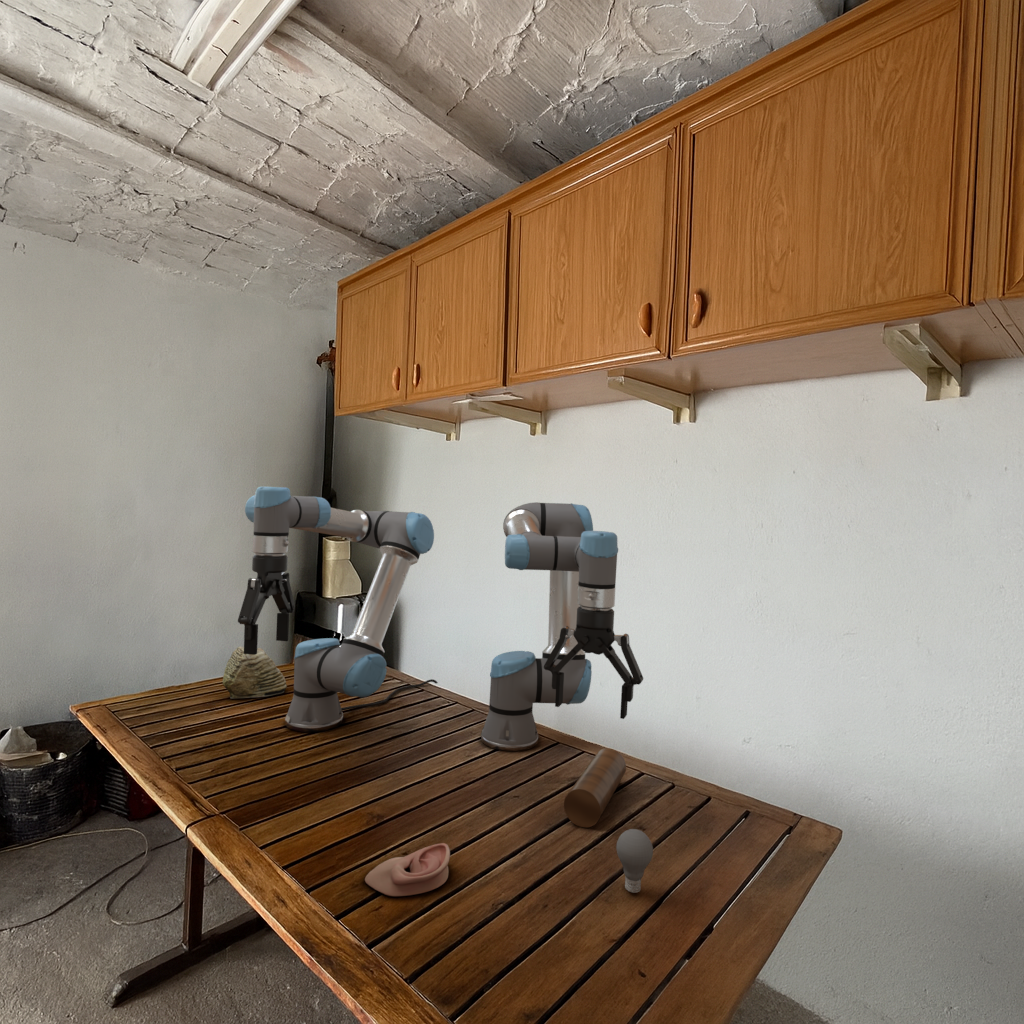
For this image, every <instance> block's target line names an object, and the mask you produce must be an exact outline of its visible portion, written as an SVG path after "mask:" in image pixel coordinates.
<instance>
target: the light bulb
mask: <svg viewBox="0 0 1024 1024" xmlns="http://www.w3.org/2000/svg"><path fill="white" fill-rule="evenodd" d="M615 849H616V854H617V857H618V859H619V861H620V863H621V865H622V867H623V873H624V874H623V875H624V876H625V878H624V888H625V890H627V891H628V892H630V893H634V894H635V893H639V892H640V891H641V889H642V887H641V886H642V879H643V877H644V875H645V871H646V868H647V867H648V866H649V864H650V863H651V861H652V859H653V855H654V847H653V843H652V841H651V838H649V836H648V835H647V834H646V833H645V832H643V831H642V830H641V829H636V828H629V829H627V830H625V831H623V832H622V833H621V834H620V835H619V837H618V839H617V841H616V847H615Z"/></svg>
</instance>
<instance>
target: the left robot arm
mask: <svg viewBox="0 0 1024 1024" xmlns="http://www.w3.org/2000/svg"><path fill="white" fill-rule="evenodd" d="M244 513H245V516H246V518H247V519H248V520H249V521H250V522H251V523H253V536H252V537H253V539H252V552H253V553H254V554H253V556H252V563H251V569H252V572H254V573H256V574H257V575H256V578H255V577H253V578H252V577H249V578H248V579H247V585H246V586H247V587H246V591H245V595H244V598H243V602H242V604H241V608H240V611H239V614H238V618H237V623H239V624H240V625H244V628H243V629H244V631H243V647H244V654H252V655H256V654H257V648H258V642H259V641H258V639H259V638H258V637H259V624H258V623H257V621H258V619H259V617H260V614H261V612H262V609H263V608H264V605H265V603H266V601H267V600H268V599H270V597H272V599H273V601H274V602H275V606H276V607H277V609H278V612H277V613H276V631H275V632H276V634H275V636H276V637H275V641H276V642H277V641H278V642H289V633H290V632H289V630H290V614H294V612H295V608H296V605H295V599H294V595H293V591H292V586H291V582H290V573H289V572H287V571H288V563H289V562H288V561H289V557H288V556H287V555H286V554H287V553H288V552H289V551H288V550H289V544H290V541H289V536H290V529H294V530H300V531H306V532H313V533H319V534H324V535H331V536H335V537H341V538H345V539H347V540H348V541H349V542H352V543H357V544H361V545H365V546H369V547H372V548H375V549H379V552H380V554H381V558H380V560H379V563H378V566H377V568H376V570H375V573H374V576H373V579H372V581H371V584H370V586H369V589H368V591H367V594H366V597H365V599H364V601H363V605H362V606H361V610H360V611H359V614H358V616H357V619H356V621H355V625H354V627H353V629H352V632H351V634H350V635H348V636H345V637H344V638H343V640H342V642H341V643H340V640H339V639H338V638H335V637H329V638H328V637H326V638H313V639H308V640H304V641H302V642H299V643H298V644H297V645H296V647H295V652H294V653H295V654H294V657H293V659H294V660H293V662H294V663H293V665H294V666H293V695H292V696H293V697H292V699H291V702H290V704H289V708H288V711H287V713H286V715H285V719H284V720H285V726H286V728H287V729H289V730H291V731H294V732H295V731H296V732H301V733H316V732H325V731H329V730H332V729H335V728H337V727H339V726H340V725H342V723H343V722H344V713H343V711H347V710H351V709H352V710H353V709H358V708H359V709H360V708H366V707H374V706H380V705H383V704H385V703H387V702H388V701H389V700H390V698H391V697H393V696H394V695H395V694H396V693H399V692H400V691H403V690H407V689H411V688H412V689H413V688H418V687H422V686H424V685H426V684H427V685H428V683H434V684H439V682H438V681H437V680H436V679H431V678H430V679H428V680H425V681H423V682H420V683H417V684H411V685H410V684H409V685H405V686H402V687H399V688H396V689H395V690H393V691H392V692H391V693H389V695H388V696H386V698H385V699H383V700H380V701H376V702H370V703H369V702H368V703H362V704H355V705H350V706H344V707H342V706H341V702H340V699H339V695H338V693H339V694H343V695H347V696H349V697H353V698H355V697H357V698H367V697H370V696H372V694H374V693H376V692H377V691H378V690H379V689H380V687H382V684H383V683H384V681H385V679H386V675H387V671H388V669H387V665H388V664H387V661H386V659H385V657H384V655H385V649H384V648H383V642H384V639H385V636H386V633H387V631H388V628H389V625H390V622H391V619H392V617H393V614H394V611H395V609H396V606H397V605H398V600H399V598H400V596H401V593H402V590H403V588H404V585H405V582H406V579H407V577H408V574H409V571H410V568H411V567H412V566H414V565H415V564H417V563H418V562H419V559H420V556H421V555H423V554H427V553H428V552H429V551H431V550H432V548H433V545H434V541H435V531H434V526H433V523H432V521H431V520H430V518H429V517H428V516H427V515H426V514H424V513H420V512H414V511H409V512H408V511H392V510H391V511H390V510H362V509H353V510H351V511H349V510H345V509H341V508H335V507H331V504H330V502H329V501H328V500H327V499H326V498H324V497H321V496H320V497H319V496H316V495H315V496H305V495H304V496H303V495H302V496H301V495H291V489H290V488H288V487H285V486H284V487H283V486H281V487H280V486H258V487H257V488H256V490H255V494H254V495H252V496H250V497H249V498H248V499H247V500H246V503H245V505H244Z"/></svg>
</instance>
